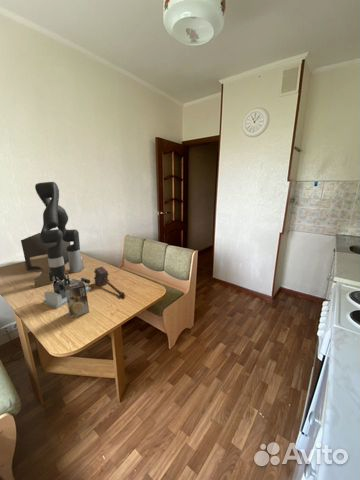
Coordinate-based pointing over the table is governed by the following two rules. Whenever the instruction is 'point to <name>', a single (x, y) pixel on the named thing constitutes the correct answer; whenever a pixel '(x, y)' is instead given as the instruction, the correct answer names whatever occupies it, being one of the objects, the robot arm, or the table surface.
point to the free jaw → (80, 281)
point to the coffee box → (76, 299)
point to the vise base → (56, 298)
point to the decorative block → (44, 265)
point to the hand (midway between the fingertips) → (61, 289)
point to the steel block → (59, 289)
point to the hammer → (105, 279)
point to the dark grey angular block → (39, 249)
